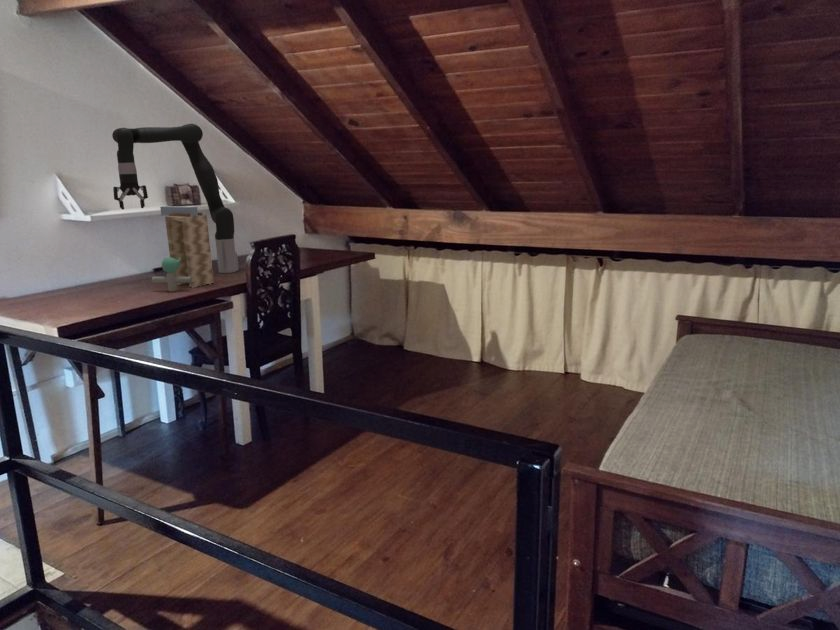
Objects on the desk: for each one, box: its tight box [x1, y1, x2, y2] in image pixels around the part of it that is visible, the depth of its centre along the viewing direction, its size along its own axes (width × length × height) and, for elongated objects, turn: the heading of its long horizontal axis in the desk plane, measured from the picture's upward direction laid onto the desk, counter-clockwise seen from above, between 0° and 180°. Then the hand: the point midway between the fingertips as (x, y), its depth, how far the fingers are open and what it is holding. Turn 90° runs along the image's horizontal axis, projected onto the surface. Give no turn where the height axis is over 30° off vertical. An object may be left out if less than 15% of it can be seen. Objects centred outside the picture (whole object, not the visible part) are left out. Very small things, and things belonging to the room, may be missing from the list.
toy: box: [151, 256, 192, 292], centre depth 278 cm, size 18×7×15 cm, turn 84°
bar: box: [159, 205, 199, 217], centre depth 287 cm, size 4×22×4 cm, turn 57°
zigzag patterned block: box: [164, 212, 215, 289], centre depth 289 cm, size 12×14×33 cm
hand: (132, 208), depth 290 cm, fingers open, 8 cm apart
